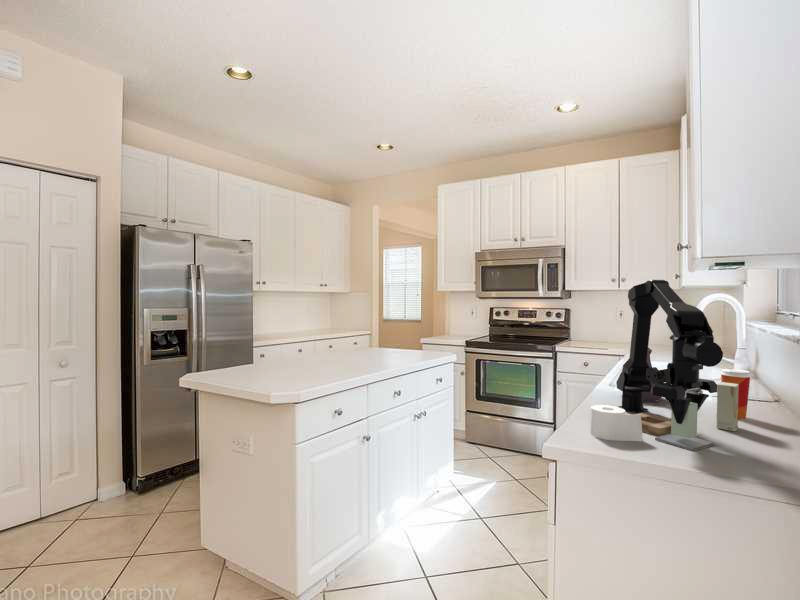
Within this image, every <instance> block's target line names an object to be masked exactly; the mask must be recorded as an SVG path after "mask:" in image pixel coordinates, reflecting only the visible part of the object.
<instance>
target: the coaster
mask: <svg viewBox="0 0 800 600" xmlns="http://www.w3.org/2000/svg"><path fill="white" fill-rule="evenodd" d="M654 440H655V441H658V442H662V443H664V444H667V445H671V446H675V447H679V448H682V449H685V450H688V451H691V452H694V451H697V450H700V449H701V450H702V449H705V448H708V447H711V446H713V445H714V442H711V441H709V440H705V439H701V438H698V437H695V436H694V437H690V438H686V437H682V436H679V435H675V434H671V433H670V434H666V435H662V436H656V437H654Z"/></svg>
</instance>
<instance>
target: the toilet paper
mask: <svg viewBox="0 0 800 600" xmlns="http://www.w3.org/2000/svg"><path fill="white" fill-rule="evenodd" d="M589 422H590V423H589V424H590V426H589V427H590V428H589V429H590V430H589V434H590V435H591V436H593V437H595V438H597V439H601V440H607V441H618V442H619V441H623V442H625V441H627V442H643V441H644V437H643V431H642V424H641V415H634V414H629V413H626V410H624V409H622V408H619V407H618V406H615V405H606V404H596V405H595V404H594V405H591V406H590V420H589Z"/></svg>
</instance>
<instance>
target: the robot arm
mask: <svg viewBox="0 0 800 600" xmlns="http://www.w3.org/2000/svg"><path fill="white" fill-rule="evenodd" d="M627 299H628V305H629V307H630V309H631V311H632V312H633V313H632V314H633V320H632V327H631V328H632V330H631V338H630V339H631V340H630V349H629V350H630V351H629V358H628V359H627V360H626V362H624V364H623V365H622V369H621V372H620V374H619V376H618V378H617V380H616V382H615V383H616V389H617V390H619V391H621V392H622V393H621V394H622V395H621V405H620V406H617V407H619V408H622V409H624V410H625V411H628V412H631V413H635V414H639V413H644V412H648V411H649V408H645V407H644V406H645V405H644V402H645V401H644V392H650V390H651V386H652V384H655V385H653V386H652V395H655V396H660V397H662V398H664V399H666V401H667V402H668V403H669V406H670V407H671V412H672V411H673V414H674V417H675V420H676V423H678V424H682V422H683V420H684V418H685V415H686V412H687V409H688V407H689V404H690V402H693V403H698V409H697V413H698V412H699V410H700V409H701V407H702V405H703V404H704V403H705V402H706V399H707V398H709V396H710V395H709V394H715V393H717V386H718V384H717V382H715V381H714V380H710V379H705V378H700V371H701V370H704V367H708V368H709V367H716V366H717V365H718V364H720V363H721V361H722V359H723V358H724V352H723V350H722V348H721V346H720V345H719V344H718V343H716V342H715V340H714V339H715V338H714V335H713V333H714V330H713V329H712V327H711V326H710V323H709V321H708V319H707V317H706V315H705V313H704V312H703V311H702V310H701V309H699V308H698V307H697V306H695V305H691V304H689V303H686V302H684V300H683V299H682V298H681V297H680V296H679V295H678V294H677V293H676V292H675V290H674V289H673V288H672V287H671V286H670V282H669V281H667V280H665V279H649V280H646V281H645V282H643V283H639V284H637V285H634V286H632V287H631V288H629V290H628V293H627ZM660 307H661V308H662V311H664V313H665V314H666V316H667V317H666V320H665V322H666V324H667V326H668V328H669V329H670V330H669V331H671V333H672V334H671V336H670V337H669V339H670V340H672V353H671V354H672V355H671V357H672V359H671V362H667V365H666V368H664V369H658V367H656V366H654V367H653V366H652V368H650V367H649V365H648V363H647V354H648V348H649V342H650V335H651V334H650V333H651V323H652V317H653V315H654V314H655V313H656V312H657V310H658V309H659V308H660ZM656 383H657V384H656ZM625 386H626V387H625ZM704 391H708V393H709V394H708V393H707V394H706V393H704Z"/></svg>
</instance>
